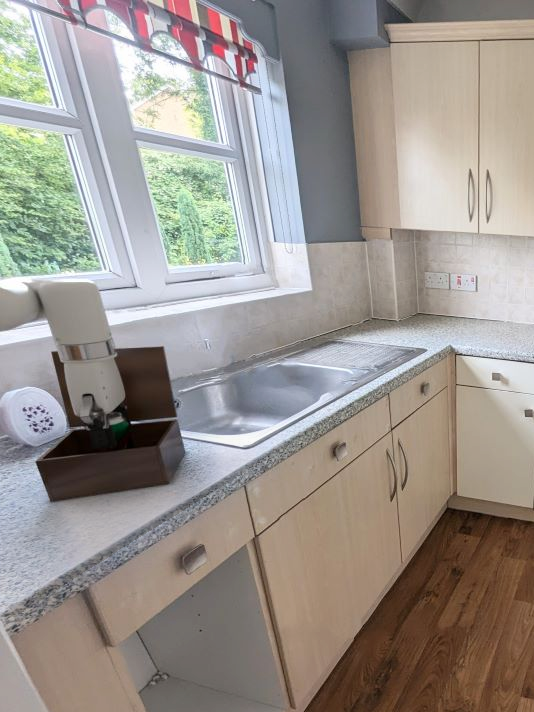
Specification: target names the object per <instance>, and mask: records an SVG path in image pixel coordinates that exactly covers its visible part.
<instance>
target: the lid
mask: <svg viewBox="0 0 534 712" xmlns="http://www.w3.org/2000/svg"><path fill="white" fill-rule="evenodd" d="M115 349H116V352H117V356H116V357H114V360H115V362H116V365H117V368H118V370H119V373H120V376H121V379H122V383H123V386H124V391H125V399H124V402H125V404H126V406H127V411H128V415H129V418H130V422H131V423H132V422H134V423H135V422H143V421H144V422H145V421H153V420H154V421H155V420H165V419H172V418H173V419H175V418H177V417H178V412H177V406H176V402H175V396H174V391H173V385H172V381H171V380H172V379H171V375H170V370H169V365H168V360H167V354H166V349H165V346H164V345H159V346H158V345H156V346H136V347H135V346H133V347H115ZM50 353H51V357H52V361H53V366H54V369H55V370H54V371H55V374H56V377H57V382H58V385H59V390H60V395H61V398H62V402H63V406H64V410H65V411H64V412H65V414H66V418H67V423H68V427H69V429H74V428H84V426H85V425H84V422H83V421H82V419H81V418H80V417H78V416H76V415H75V414H74V411H73V407H72V403H71V400H70V396H69V392H68V388H67V383H66V378H65V371H64V363H63V362H61V361H60V357H59V354H58V351H57V350H53V351H50ZM124 411H126V410H124ZM93 412H103V410H93Z"/></svg>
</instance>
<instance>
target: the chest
mask: <svg viewBox="0 0 534 712" xmlns="http://www.w3.org/2000/svg"><path fill="white" fill-rule="evenodd" d="M131 425H132V428H131V429H130V432H131V436H132V439H133V443H134V446H135V448H133V449H125V450H117V451H108V452H100V451H99V449H98V450H96V449H94V447H93V444H92V441H91V438H90V435H89V432H88V431H87V429H86V428H84V427H82V428H75V429H74V428H72V429H70V430H69V431H68V432H66V434H65V435H63V436H62V437H61V438H60V439H59V440H58V441H56V442H55V443H54V444H53V445H52V446H51V447H50V448H49V449H48V450H46V451H45V452H44V453H43V454H42V455H41V456H40V457H38V458H37V459H36V460H35V461H34V462H35V465H36V467H37V470H38V472H39V476H40V479H41V481H42V484H43V486H44V489H45V492H46V494H47V497H48V499H49V502H57V501H64V500H71V499H77V498H84V497H85V498H86V497H90V496H91V497H92V496H99V495H104V494H110V493H112V494H113V493H117V492H125V491H131V490H138V489H145V488H152V487H157V486H165V485H169V484H171V481H172V479H173V477H174V476H175V473H176V472H177V470H178V468H179V466H180V464H181V462H182V461H183V459H184V456H185V455H186V448H185V445H184V441H183V436H182V432H181V428H180V423H179V419H178V418H173V419H172V418H171V419H161V420H154V421H153V420H151V421H144V422H143V421H141V422H134V423H132V422H131Z"/></svg>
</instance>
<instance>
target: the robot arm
mask: <svg viewBox="0 0 534 712" xmlns="http://www.w3.org/2000/svg"><path fill="white" fill-rule="evenodd" d="M39 320H47V324H48V327H49V330H50V333H51V336H52V339H53V342H54V345H55V348H56V351H58V354H59V357H60V361H61V362H63V363H64V371H65V378H66V383H67V388H68V392H69V396H70V400H71V403H72V407H73V411H74V414H75V415H76V416H78V417H80V418H81V419H82V421H83V422H84V425H85V426H86V429H87V431H88V432H89V435H90V438H91V441H92V444H93V447H94V449H96V450H98V449H107V448H115V447H116V446H117V442H116V439H115V436H114V432H113V429H112V427H109V419H108V414H109V413H110V412H120V413H122V414H123V416H124V417H126V418H127V422H128V425H129V429H131V428H132V425H131V424H132V422H130V418H129V415H128V411H127V406H126V404H125V402H124V399H125V391H124V386H123V383H122V379H121V376H120V373H119V370H118V368H117V365H116V362H115V360H114V357H116V356H117V352H116V349H115V348H116V345H115V342H114V337H113V335H112V331H111V327H110V324H109V319H108V317H107V313H106V309H105V306H104V303H103V298H102V296H101V292H100V289H99V287H98V285H97V284H96V283H95V282H94V281H92V280H89V279H85V278H54V279H39V278H31V277H20V276H5V277H0V332H6V331H10V330H13V329H16V328H19V327H21V326H24V325H26V324H30V323H33V322H37V321H39ZM93 410H103V412H93ZM124 410H126V411H124ZM98 416H102V421H100V420H99V419H98V418H95V417H98Z"/></svg>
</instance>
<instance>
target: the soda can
mask: <svg viewBox="0 0 534 712" xmlns="http://www.w3.org/2000/svg"><path fill="white" fill-rule="evenodd" d="M95 418H98V419H99V420H100V421H102V416H98V417H95ZM108 419H109V427H112V429H113V432H114V436H115V439H116V442H117V446H116V447H115V448H107V449H99V451H100V452H108V451H117V450H125V449H133V448H135V446H134V443H133V439H132V436H131V432H130V429H129V425H128V422H127V418H126V417H124V416H123V414H122V413H120V412H110V413H109V414H108Z"/></svg>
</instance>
